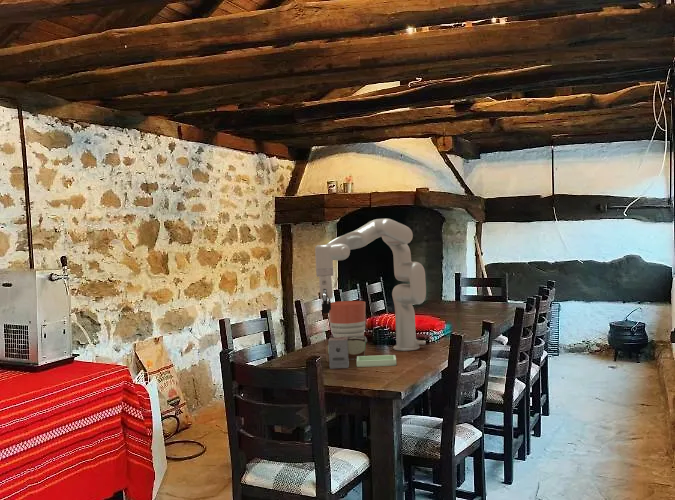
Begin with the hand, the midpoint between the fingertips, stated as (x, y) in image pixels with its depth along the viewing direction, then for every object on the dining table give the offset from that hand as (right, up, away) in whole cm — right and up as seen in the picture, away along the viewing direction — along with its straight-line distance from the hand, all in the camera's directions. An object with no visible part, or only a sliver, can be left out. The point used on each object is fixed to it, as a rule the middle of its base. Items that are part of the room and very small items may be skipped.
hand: (326, 311), depth 268 cm
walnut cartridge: (+2, -23, +8) cm, 25 cm away
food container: (+14, -23, +12) cm, 29 cm away
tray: (+22, -22, -2) cm, 31 cm away
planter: (+11, -22, +52) cm, 58 cm away
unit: (+6, -23, -4) cm, 24 cm away
